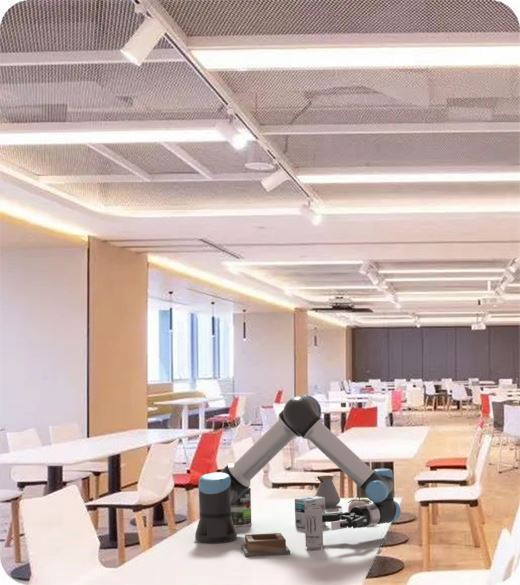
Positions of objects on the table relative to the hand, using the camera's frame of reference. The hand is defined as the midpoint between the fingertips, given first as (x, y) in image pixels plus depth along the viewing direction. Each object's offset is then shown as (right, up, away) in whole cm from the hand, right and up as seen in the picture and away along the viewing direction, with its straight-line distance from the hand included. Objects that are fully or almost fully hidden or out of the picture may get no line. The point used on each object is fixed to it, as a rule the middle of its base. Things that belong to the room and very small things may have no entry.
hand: (318, 523), depth 341 cm
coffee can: (-29, -12, +49) cm, 58 cm away
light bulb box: (-1, -11, +42) cm, 44 cm away
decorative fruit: (+19, -11, +47) cm, 51 cm away
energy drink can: (-2, -8, -1) cm, 9 cm away
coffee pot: (+7, -13, +82) cm, 84 cm away
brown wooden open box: (-18, -9, -3) cm, 21 cm away
